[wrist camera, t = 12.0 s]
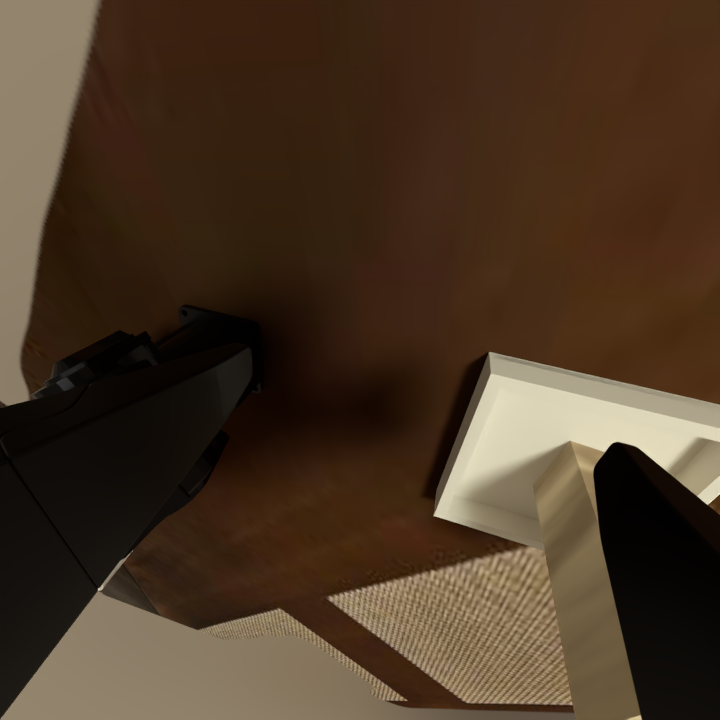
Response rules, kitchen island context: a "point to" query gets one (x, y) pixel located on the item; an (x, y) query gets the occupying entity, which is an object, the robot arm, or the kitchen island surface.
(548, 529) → the maple block
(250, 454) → the kitchen island surface
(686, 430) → the tray
